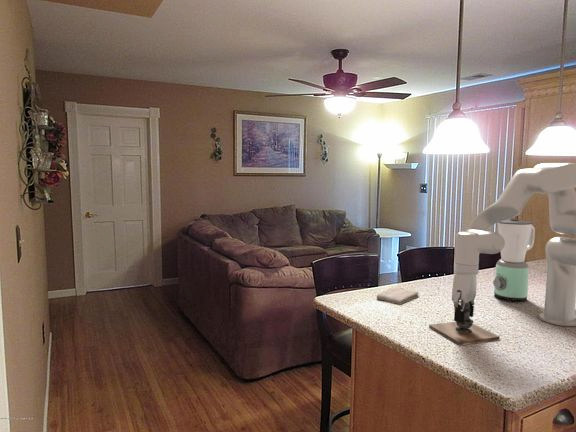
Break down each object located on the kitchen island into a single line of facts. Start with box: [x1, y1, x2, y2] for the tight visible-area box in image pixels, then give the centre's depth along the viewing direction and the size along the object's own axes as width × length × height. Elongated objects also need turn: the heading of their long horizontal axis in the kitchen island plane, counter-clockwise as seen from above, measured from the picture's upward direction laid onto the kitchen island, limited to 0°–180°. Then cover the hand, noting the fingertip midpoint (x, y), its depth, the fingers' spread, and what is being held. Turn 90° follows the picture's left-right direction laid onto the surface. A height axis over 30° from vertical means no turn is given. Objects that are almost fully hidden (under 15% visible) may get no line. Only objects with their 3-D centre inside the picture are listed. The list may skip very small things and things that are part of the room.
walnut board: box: [428, 321, 500, 346], centre depth 148 cm, size 16×16×1 cm
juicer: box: [492, 218, 536, 303], centre depth 187 cm, size 19×13×35 cm
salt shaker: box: [455, 300, 474, 333], centre depth 147 cm, size 6×6×12 cm
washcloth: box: [376, 286, 419, 305], centre depth 189 cm, size 12×18×3 cm, turn 138°
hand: (463, 318), depth 147 cm, fingers open, 7 cm apart
